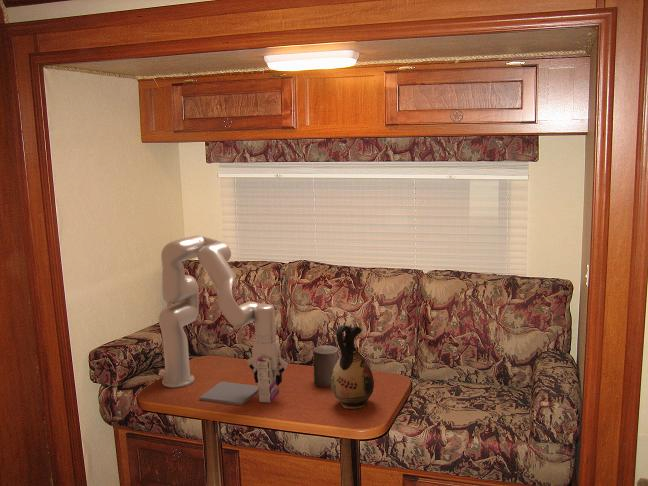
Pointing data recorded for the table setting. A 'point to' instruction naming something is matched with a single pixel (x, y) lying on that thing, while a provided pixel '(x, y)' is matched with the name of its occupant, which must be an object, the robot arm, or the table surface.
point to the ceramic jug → (351, 372)
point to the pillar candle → (324, 364)
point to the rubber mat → (230, 393)
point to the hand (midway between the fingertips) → (268, 382)
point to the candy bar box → (266, 380)
